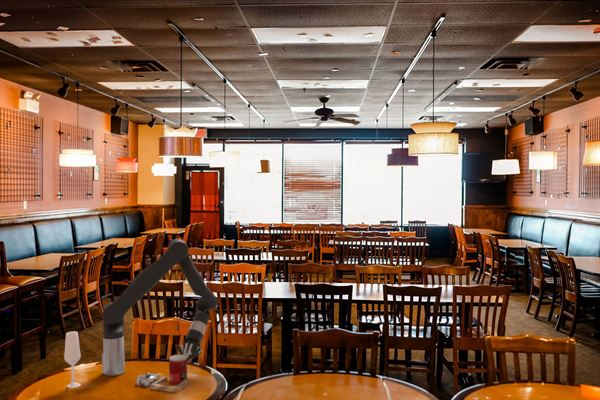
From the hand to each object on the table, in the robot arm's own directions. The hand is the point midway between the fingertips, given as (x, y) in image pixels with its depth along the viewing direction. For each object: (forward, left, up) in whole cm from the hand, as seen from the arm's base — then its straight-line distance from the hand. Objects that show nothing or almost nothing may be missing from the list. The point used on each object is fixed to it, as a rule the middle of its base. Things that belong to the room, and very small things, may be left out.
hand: (183, 366), depth 248 cm
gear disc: (-12, -10, -5) cm, 16 cm away
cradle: (0, -10, -5) cm, 12 cm away
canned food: (0, -4, -5) cm, 7 cm away
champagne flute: (-41, -24, -5) cm, 48 cm away
